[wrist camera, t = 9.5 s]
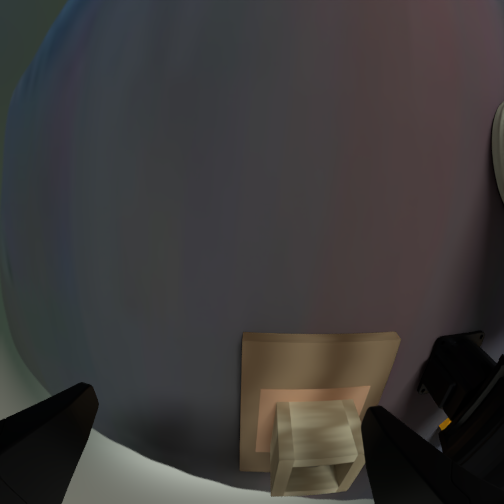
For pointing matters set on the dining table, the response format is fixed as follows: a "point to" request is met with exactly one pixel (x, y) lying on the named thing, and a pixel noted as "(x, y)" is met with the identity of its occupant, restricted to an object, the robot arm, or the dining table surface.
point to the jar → (499, 148)
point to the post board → (306, 379)
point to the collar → (315, 447)
